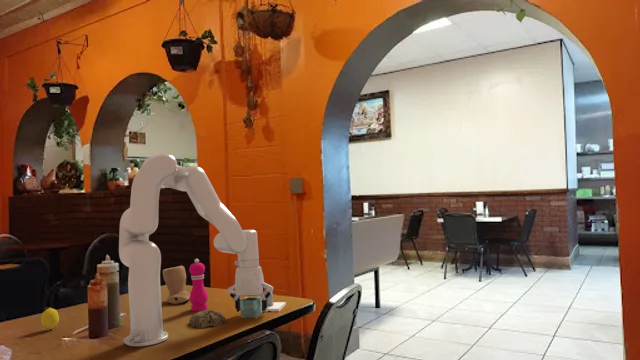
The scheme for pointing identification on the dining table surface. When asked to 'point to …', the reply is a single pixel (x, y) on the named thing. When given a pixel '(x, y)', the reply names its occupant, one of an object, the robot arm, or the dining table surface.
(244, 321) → the dining table surface
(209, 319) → the bread roll
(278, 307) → the shaft base
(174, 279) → the beige hollow piece
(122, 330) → the dining table surface
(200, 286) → the pepper mill
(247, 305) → the collar
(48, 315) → the lemon
